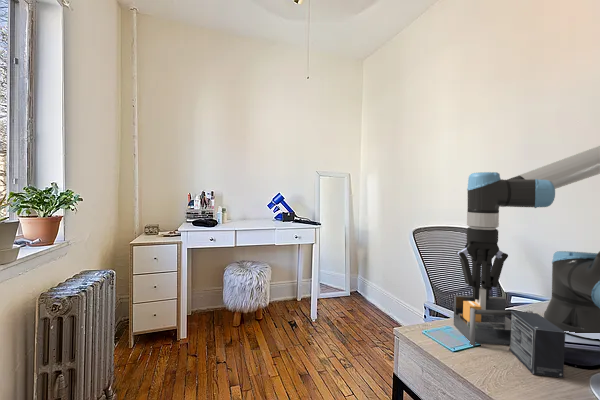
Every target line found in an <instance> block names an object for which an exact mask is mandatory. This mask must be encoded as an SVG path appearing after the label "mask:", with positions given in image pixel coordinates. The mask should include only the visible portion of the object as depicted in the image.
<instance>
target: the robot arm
mask: <svg viewBox="0 0 600 400" xmlns="http://www.w3.org/2000/svg"><path fill="white" fill-rule="evenodd" d="M597 175H600V145H598V146H595V147H592V148H589V149H587V150H583V151H582V152H578V153H576V154H574V155H571V156H568V157H565V158H563V159H559V160H557V161H554V162H551V163H548V164H546V165H543V166H541V167H537V168H535V169H532V170H529V171H527V172H523V173H521V174H518V175H515V176H514V177H511V178H507V179H503V178H502V179H501V175H500V173H499V172H496V171H495V172H494V171H493V172H491V171H484V172H473V173H472V172H471V173H470V174H469V176H468V178H467V179H468V180H467V188H466V191H467V210H466V211H467V212H466V225H467V226H468V227H467V228H466V243H465V245H464V248H463V249H461V250H457V251H456V253H455V254H456V255H457V257H458V258H459V262H460V266H461V270H462V274H463V278H464V282H465V283H466V285H468V286H469V287H472V293H471V296H473V298H474V299H475V302H476V303H477V304H478V305H480V306H481V310H486V300H488V299H489V297H490V291H491V290H492V289H493V288H497V287H498V283H499V280H500V277H501V274H502V270H503V266H504V264H505V261H507V259H508V258H509V255H508V253H505V252H503V251H501V250H500V248H499V244H498V242H499V230H498V229H497V228H499V227H500V226H499V225H500V222H499V221H500V220H499V217H500V216H499V215H500V207H502V208H505V207H506V208H507V207H509V208H534V209H537V208H548V207H550V206H551V205H552V204H553V203H554V201H555V198H556V189H559V188H562V187H566V186H568V185H571V184H573V183H577V182H580V181H583V180H585V179H589V178H591V177H594V176H597ZM469 256H470V259H471V263H472V264H471V266H470V263H469V259H468V257H469ZM493 258H494V260H493ZM551 264H552V267H551V298H550V301H549V303H548V304H547V307H546V309H545V311H543V318H545V319H546V320H548V321H549V322H551V323H552V324H554V325H555V326H557V327H558V328H560V329H561V330H563V331H569V332H575V333H600V250H599V251H598V253H597V252H587V251H586V252H584V251H570V250H569V251H568V250H567V251H566V250H559V251H557V250H556V251H554V253H553V256H552V261H551Z"/></svg>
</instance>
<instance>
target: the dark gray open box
mask: <svg viewBox="0 0 600 400" xmlns="http://www.w3.org/2000/svg"><path fill="white" fill-rule="evenodd" d="M453 297H454V298H453V326H454V327H455V328H456V329H457V330H458V332H460V333H461V334H462V336H463V335H464V336H465V337H466V338H467V339H468V340H469V341H470V321H467V320H465V319H464V318H463V301H474V302H475V299H474V298H473V296H472V295H458V294H457V295H453ZM506 300H507V299H506V297H503V296H489V299H488V300H486V310H501V311H506V305H507V304H506V302H507V301H506ZM510 335H511V318H509V317H508V316H504V315H483V314H481V322H475V342H477V343H476V344H488V345H489V344H490V345H505V346H510ZM464 336H463V337H464ZM465 337H464V338H465ZM466 338H465V339H466ZM467 339H466V340H467ZM468 340H467V341H468ZM469 341H468V342H469Z"/></svg>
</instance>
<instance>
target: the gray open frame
mask: <svg viewBox="0 0 600 400" xmlns="http://www.w3.org/2000/svg"><path fill="white" fill-rule="evenodd" d="M511 311H512V310H505V311H501V310H479V309H474V308H470V342H469V345H470V344H471V345H473V346H472V347H476V343H475V316H476V314H483V315H504V316H506V317H511ZM518 311H519V312H524V311H523V310H522V311H521V310H518ZM526 312H528V313H534V312H533V311H532V310H526ZM471 345H470V346H471Z"/></svg>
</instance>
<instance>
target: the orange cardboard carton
mask: <svg viewBox="0 0 600 400" xmlns="http://www.w3.org/2000/svg"><path fill="white" fill-rule="evenodd" d="M470 308H474V309H479V310H481V306H480V305H478V304H477V303H476V302H474V301H463V318H464V319H465V320H467V321H470ZM475 322H481V314H476V316H475Z"/></svg>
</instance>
